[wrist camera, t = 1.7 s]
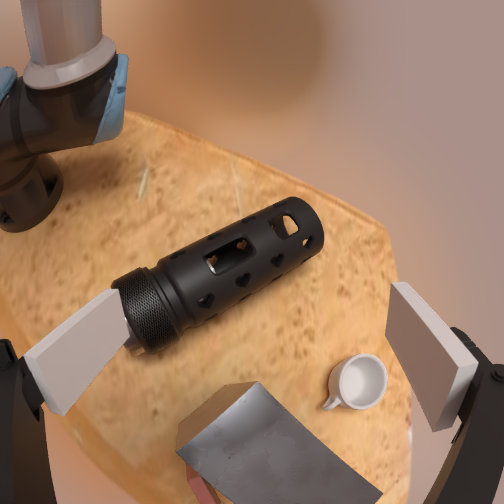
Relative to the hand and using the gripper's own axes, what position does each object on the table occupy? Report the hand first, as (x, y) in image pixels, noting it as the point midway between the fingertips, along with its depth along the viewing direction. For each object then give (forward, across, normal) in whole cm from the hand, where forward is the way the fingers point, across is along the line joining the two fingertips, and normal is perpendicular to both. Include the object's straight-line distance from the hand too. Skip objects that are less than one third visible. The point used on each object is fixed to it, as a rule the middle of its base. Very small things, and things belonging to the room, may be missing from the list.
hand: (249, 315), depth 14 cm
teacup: (+21, +9, -24) cm, 33 cm away
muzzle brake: (+26, -8, -9) cm, 29 cm away
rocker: (+4, -7, -25) cm, 26 cm away
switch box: (+13, -4, -26) cm, 29 cm away
